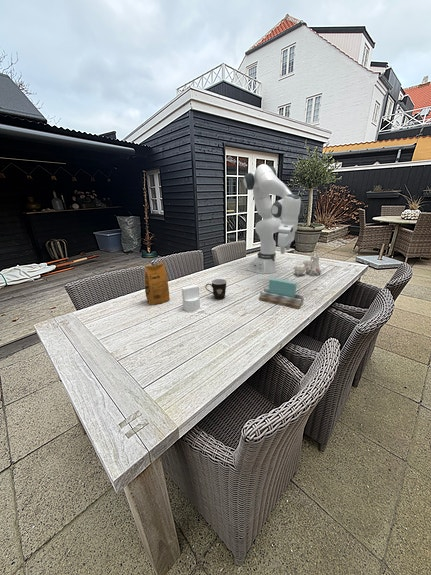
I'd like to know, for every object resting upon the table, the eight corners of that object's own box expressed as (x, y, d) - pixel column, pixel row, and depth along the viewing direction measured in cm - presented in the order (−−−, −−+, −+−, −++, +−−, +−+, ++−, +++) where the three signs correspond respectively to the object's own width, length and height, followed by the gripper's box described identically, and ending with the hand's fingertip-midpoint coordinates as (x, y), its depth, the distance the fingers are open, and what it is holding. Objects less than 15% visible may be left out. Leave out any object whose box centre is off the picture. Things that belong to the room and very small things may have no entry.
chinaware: (303, 268, 184) (304, 248, 179) (325, 269, 174) (326, 248, 169) (291, 278, 164) (291, 256, 158) (315, 280, 154) (316, 256, 148)
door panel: (268, 296, 129) (269, 279, 125) (270, 294, 131) (271, 278, 127) (293, 301, 122) (295, 284, 118) (294, 299, 124) (296, 282, 120)
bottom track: (258, 300, 129) (259, 292, 127) (265, 293, 136) (265, 286, 135) (298, 309, 118) (299, 301, 116) (303, 301, 125) (304, 294, 124)
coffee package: (145, 300, 132) (139, 263, 124) (165, 295, 138) (161, 260, 130) (150, 306, 124) (144, 268, 116) (171, 301, 130) (167, 264, 122)
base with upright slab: (186, 313, 117) (185, 291, 112) (181, 306, 124) (179, 285, 120) (202, 308, 121) (201, 288, 116) (196, 302, 128) (194, 282, 123)
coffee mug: (228, 295, 135) (228, 280, 131) (223, 301, 128) (223, 285, 124) (211, 292, 140) (210, 277, 136) (205, 298, 133) (204, 282, 129)
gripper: (288, 223, 132) (284, 246, 138) (276, 229, 117) (273, 255, 122) (299, 224, 129) (295, 248, 135) (289, 230, 114) (285, 257, 119)
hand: (285, 251), depth 129 cm, fingers open, 8 cm apart
